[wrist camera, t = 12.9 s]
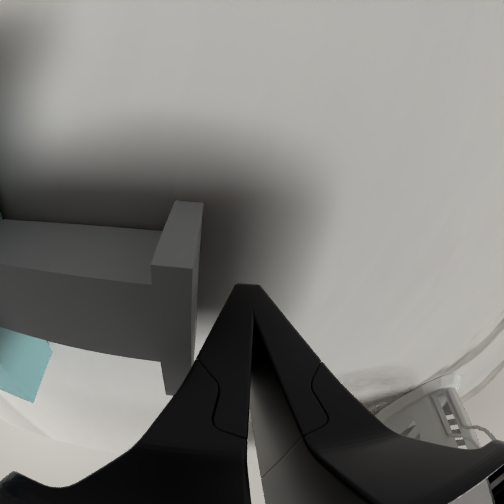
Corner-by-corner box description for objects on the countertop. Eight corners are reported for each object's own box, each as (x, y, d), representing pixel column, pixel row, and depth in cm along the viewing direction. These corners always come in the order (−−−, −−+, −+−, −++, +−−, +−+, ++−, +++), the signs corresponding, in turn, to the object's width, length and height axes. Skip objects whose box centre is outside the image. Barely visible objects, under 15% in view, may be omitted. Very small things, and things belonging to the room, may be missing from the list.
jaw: (219, 73, 6) (212, 62, 3) (195, 375, 12) (192, 437, 10) (-56, 112, 4) (-112, 140, 2) (8, 338, 11) (-12, 383, 8)
